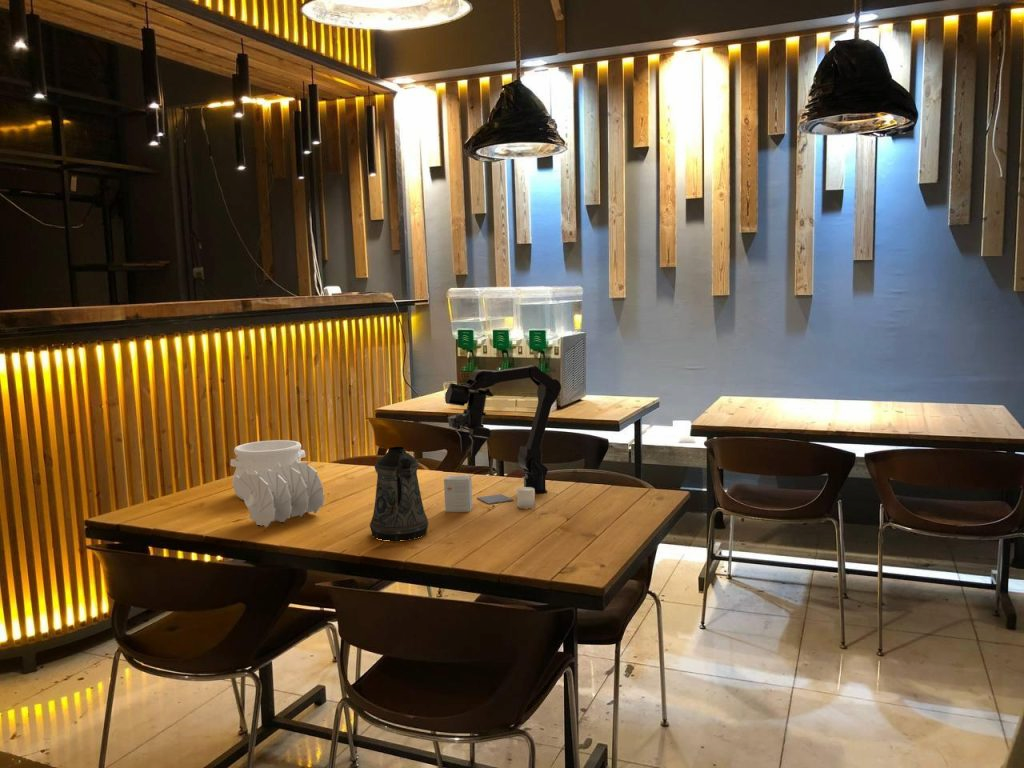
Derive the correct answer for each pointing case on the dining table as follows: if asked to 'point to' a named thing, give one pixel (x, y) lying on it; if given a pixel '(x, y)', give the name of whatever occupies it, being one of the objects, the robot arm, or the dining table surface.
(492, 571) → the dining table surface
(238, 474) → the pot
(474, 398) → the robot arm
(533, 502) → the espresso cup
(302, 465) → the spiral staircase
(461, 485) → the small box
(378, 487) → the beer stein
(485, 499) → the slate coaster
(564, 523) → the dining table surface
